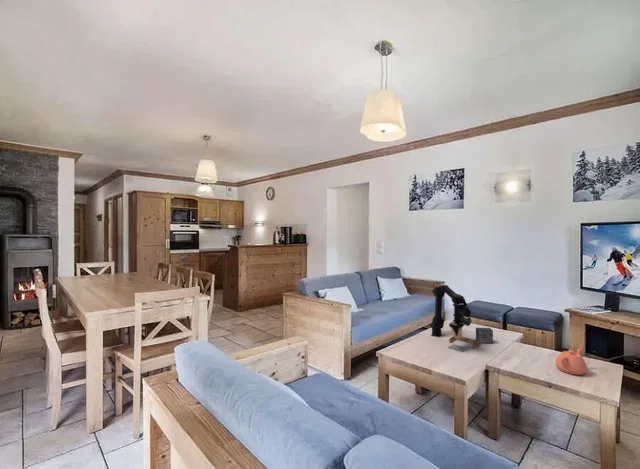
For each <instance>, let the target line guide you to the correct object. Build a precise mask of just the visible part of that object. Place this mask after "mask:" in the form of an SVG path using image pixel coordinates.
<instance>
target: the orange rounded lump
mask: <svg viewBox="0 0 640 469" xmlns="http://www.w3.org/2000/svg"><path fill="white" fill-rule="evenodd" d="M581 351H582V348H581V347H579V348H577V350H576V352H575V351H574V350H571V349H568V350H564V351H562V352H560V353H559V354H558V356H557V357H556V359H555V366H556V367H557V369H558V370H560V371H561V372H563V371H564V372H563V373H567V374H571V375H574V374H575V375H576V376H579V375H580V376H581V375H584V374H586V373H587V371H588V366H587V364H586V361H585V360H584V358H583V356H582V352H581Z"/></svg>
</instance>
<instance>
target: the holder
mask: <svg viewBox="0 0 640 469" xmlns="http://www.w3.org/2000/svg"><path fill="white" fill-rule="evenodd" d="M448 341H449V344H451V343H453V342H455V341H461V342H465V343H469V344H472V347H473V349H476V348H478V347H479V346H481V343H480V341H479V340H476V338H474V339H473V338H470V337H464V336H462V339H455V338H454V335H453V336H451V337H450V338H449V339H448Z"/></svg>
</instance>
